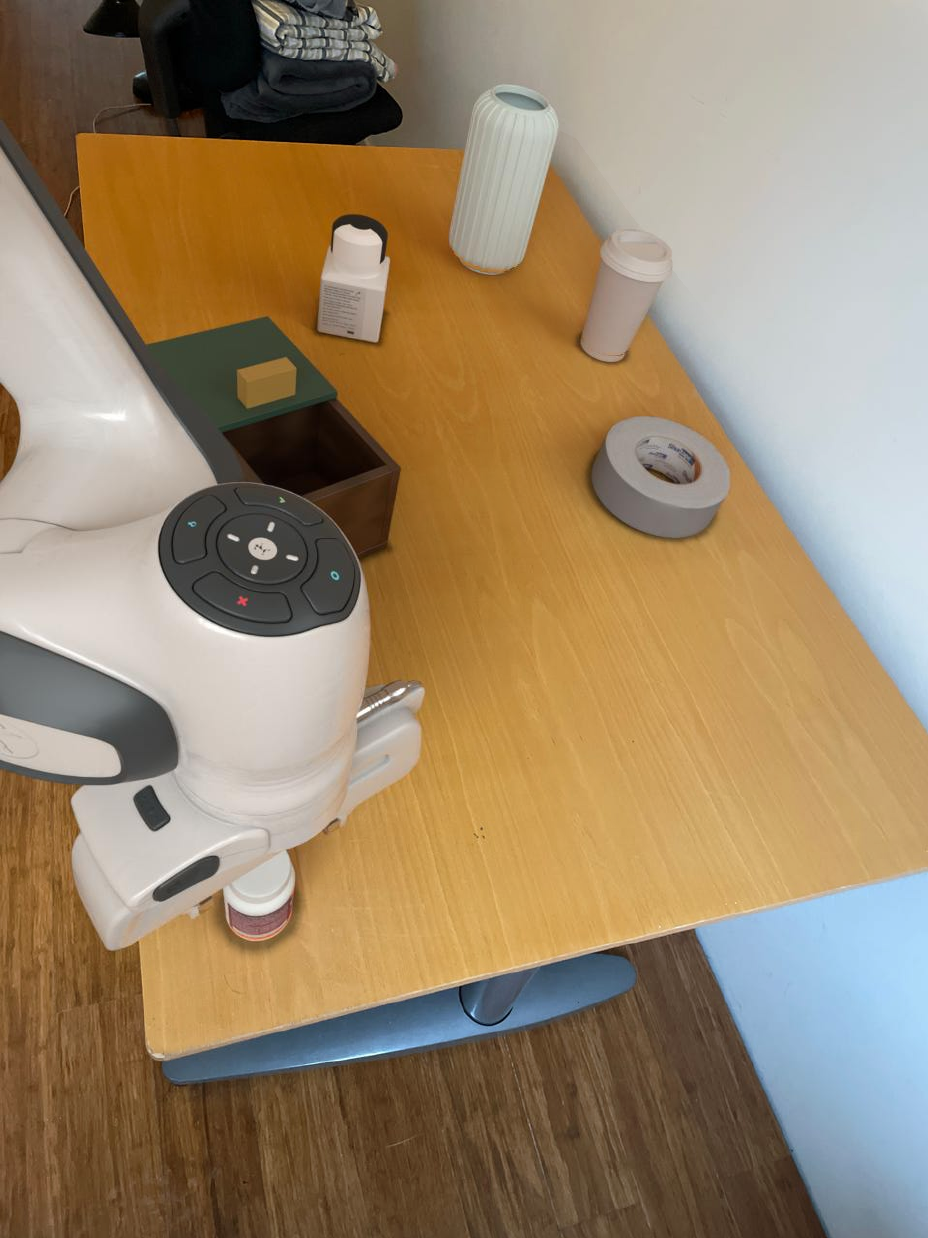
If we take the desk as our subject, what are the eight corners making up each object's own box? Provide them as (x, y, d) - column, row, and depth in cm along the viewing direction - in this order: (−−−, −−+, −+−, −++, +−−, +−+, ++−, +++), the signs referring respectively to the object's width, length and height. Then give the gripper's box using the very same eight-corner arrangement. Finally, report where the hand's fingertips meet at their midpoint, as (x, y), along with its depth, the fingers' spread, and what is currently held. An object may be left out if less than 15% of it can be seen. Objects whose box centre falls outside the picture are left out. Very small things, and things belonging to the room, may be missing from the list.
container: (324, 299, 107) (332, 200, 97) (383, 310, 108) (396, 214, 98) (316, 332, 103) (323, 232, 92) (377, 344, 104) (390, 247, 94)
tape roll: (727, 485, 101) (747, 454, 97) (692, 559, 91) (711, 528, 87) (616, 430, 103) (631, 397, 99) (570, 496, 93) (584, 463, 89)
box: (273, 596, 76) (275, 514, 68) (206, 507, 81) (200, 421, 73) (386, 548, 83) (401, 467, 74) (317, 468, 88) (324, 384, 79)
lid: (212, 435, 72) (210, 400, 69) (145, 351, 77) (141, 316, 74) (337, 397, 78) (340, 364, 76) (267, 322, 83) (268, 288, 81)
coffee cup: (634, 336, 117) (675, 235, 106) (636, 375, 111) (680, 273, 100) (569, 320, 116) (604, 217, 105) (569, 359, 110) (605, 254, 99)
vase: (430, 256, 119) (460, 89, 102) (470, 231, 126) (504, 70, 109) (497, 291, 117) (538, 126, 100) (533, 263, 124) (578, 104, 107)
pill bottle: (304, 920, 59) (310, 879, 53) (242, 955, 57) (241, 917, 51) (274, 864, 61) (276, 819, 55) (214, 897, 59) (208, 853, 53)
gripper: (395, 630, 48) (372, 745, 58) (33, 812, 37) (86, 910, 48) (461, 710, 45) (424, 814, 56) (93, 928, 35) (134, 1004, 46)
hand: (265, 860), depth 52 cm, fingers open, 8 cm apart
